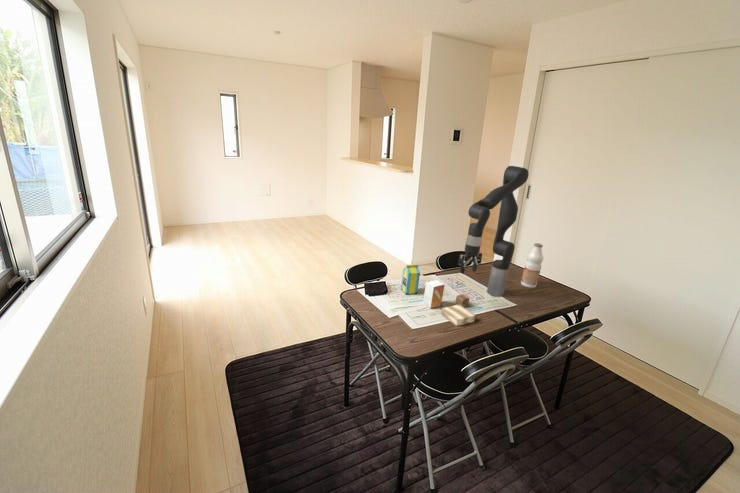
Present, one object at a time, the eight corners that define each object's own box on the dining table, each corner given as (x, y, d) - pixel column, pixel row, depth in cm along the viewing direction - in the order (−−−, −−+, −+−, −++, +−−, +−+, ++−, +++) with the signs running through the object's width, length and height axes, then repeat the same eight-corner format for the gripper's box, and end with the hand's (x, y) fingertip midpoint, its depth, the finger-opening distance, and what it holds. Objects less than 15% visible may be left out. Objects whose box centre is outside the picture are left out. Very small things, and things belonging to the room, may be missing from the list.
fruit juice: (526, 288, 221) (537, 246, 211) (517, 282, 229) (527, 241, 220) (539, 288, 223) (550, 246, 214) (529, 281, 231) (540, 241, 222)
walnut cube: (461, 302, 196) (463, 294, 194) (468, 306, 192) (469, 298, 190) (455, 303, 194) (456, 295, 192) (461, 307, 190) (462, 299, 188)
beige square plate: (458, 310, 187) (459, 304, 185) (474, 322, 177) (475, 315, 176) (440, 315, 181) (441, 308, 180) (456, 326, 171) (457, 319, 170)
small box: (430, 309, 185) (433, 286, 181) (422, 303, 190) (425, 282, 186) (441, 305, 190) (445, 284, 186) (433, 300, 195) (436, 279, 190)
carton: (411, 287, 208) (415, 259, 202) (417, 293, 201) (421, 265, 195) (400, 288, 206) (403, 260, 200) (405, 294, 199) (409, 265, 193)
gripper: (478, 240, 187) (472, 267, 193) (458, 242, 181) (452, 271, 186) (488, 244, 181) (482, 273, 186) (468, 247, 174) (462, 276, 180)
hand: (467, 272), depth 186 cm, fingers open, 8 cm apart
